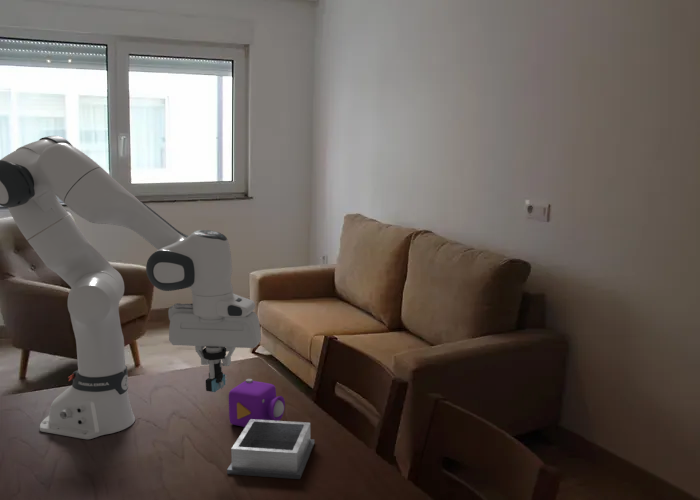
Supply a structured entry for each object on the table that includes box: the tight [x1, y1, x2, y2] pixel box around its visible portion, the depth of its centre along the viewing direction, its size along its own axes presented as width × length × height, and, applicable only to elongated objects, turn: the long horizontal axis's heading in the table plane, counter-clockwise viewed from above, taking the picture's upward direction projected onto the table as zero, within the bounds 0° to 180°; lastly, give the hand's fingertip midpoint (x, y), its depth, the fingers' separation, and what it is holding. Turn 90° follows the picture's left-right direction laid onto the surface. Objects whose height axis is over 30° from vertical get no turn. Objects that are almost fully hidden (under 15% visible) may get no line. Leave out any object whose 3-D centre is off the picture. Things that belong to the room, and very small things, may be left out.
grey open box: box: [226, 419, 315, 480], centre depth 156 cm, size 16×17×6 cm
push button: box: [202, 346, 228, 393], centre depth 154 cm, size 7×5×10 cm
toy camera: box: [228, 378, 286, 428], centre depth 174 cm, size 11×14×10 cm
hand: (216, 364), depth 154 cm, fingers closed on push button, 3 cm apart
